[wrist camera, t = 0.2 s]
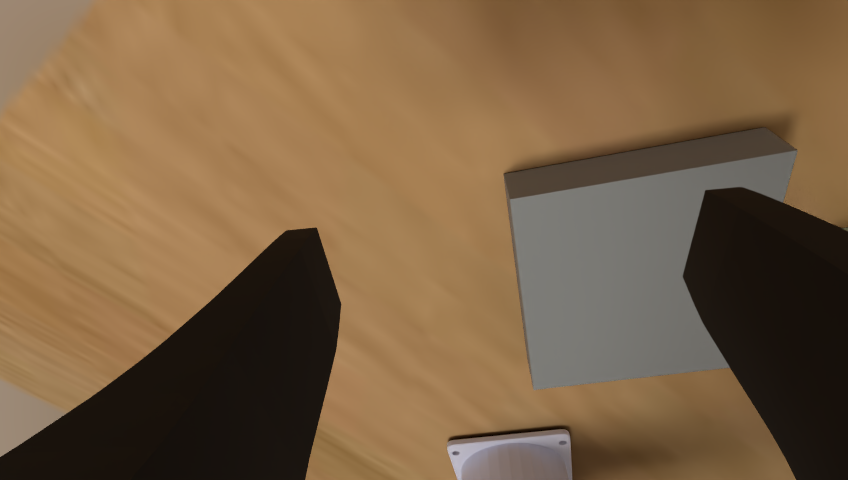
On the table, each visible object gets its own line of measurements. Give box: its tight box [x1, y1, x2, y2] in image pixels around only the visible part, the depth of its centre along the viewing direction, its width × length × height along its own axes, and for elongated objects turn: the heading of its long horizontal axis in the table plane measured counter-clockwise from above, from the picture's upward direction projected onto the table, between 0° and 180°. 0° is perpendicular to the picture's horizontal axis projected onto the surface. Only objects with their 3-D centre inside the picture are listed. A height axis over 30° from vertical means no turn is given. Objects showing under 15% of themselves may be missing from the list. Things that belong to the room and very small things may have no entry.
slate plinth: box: [504, 127, 798, 390], centre depth 21 cm, size 12×10×2 cm
